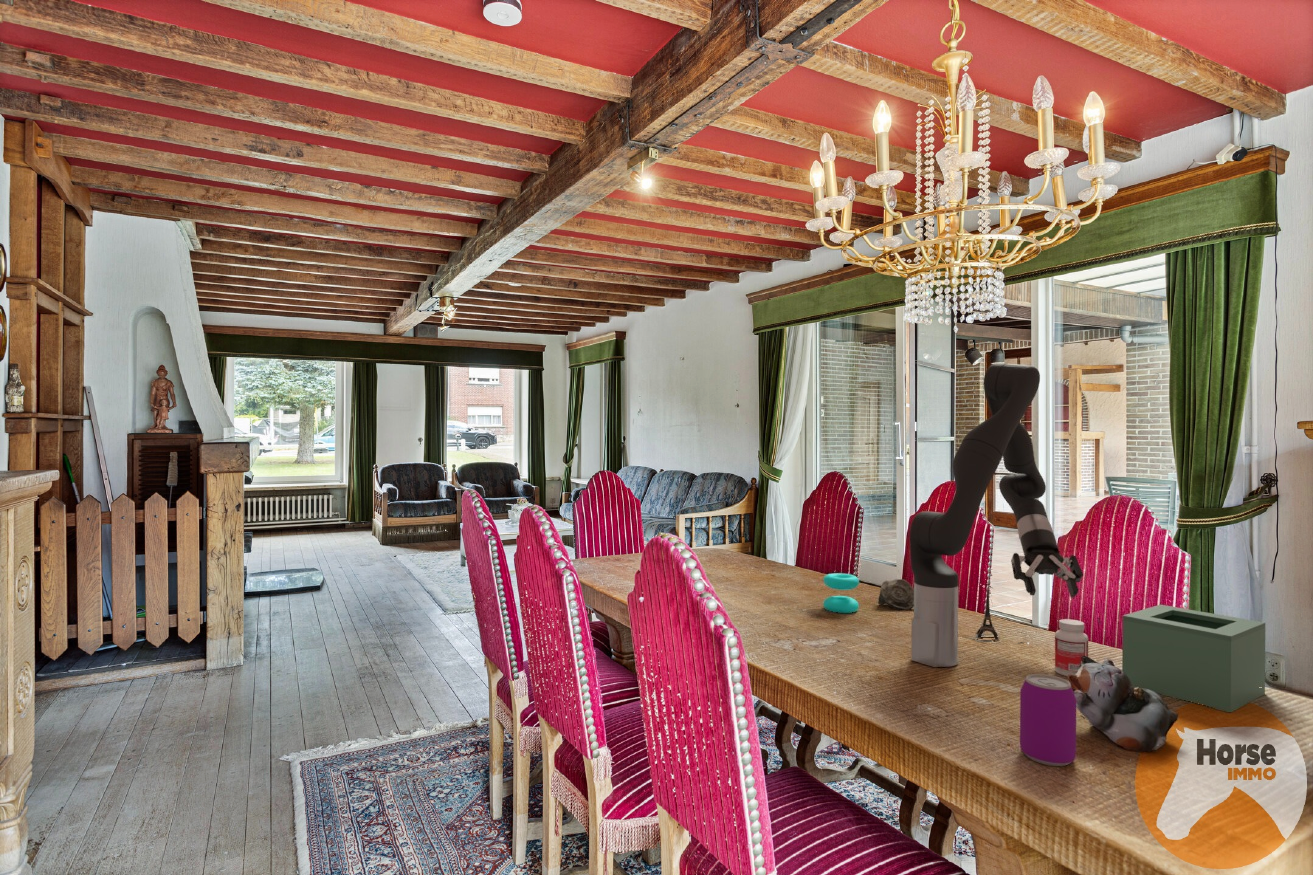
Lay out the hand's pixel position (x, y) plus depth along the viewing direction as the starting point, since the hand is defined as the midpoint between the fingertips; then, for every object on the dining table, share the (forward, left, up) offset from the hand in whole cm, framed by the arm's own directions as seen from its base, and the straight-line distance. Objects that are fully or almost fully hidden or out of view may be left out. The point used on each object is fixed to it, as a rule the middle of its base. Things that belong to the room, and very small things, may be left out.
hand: (1053, 594), depth 162 cm
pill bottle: (-8, -8, -15) cm, 18 cm away
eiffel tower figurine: (+4, +19, -15) cm, 24 cm away
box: (+3, -26, -15) cm, 30 cm away
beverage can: (-53, -26, -15) cm, 60 cm away
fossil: (+11, +51, -15) cm, 54 cm away
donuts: (-6, +57, -15) cm, 60 cm away
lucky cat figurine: (-34, -28, -15) cm, 47 cm away
